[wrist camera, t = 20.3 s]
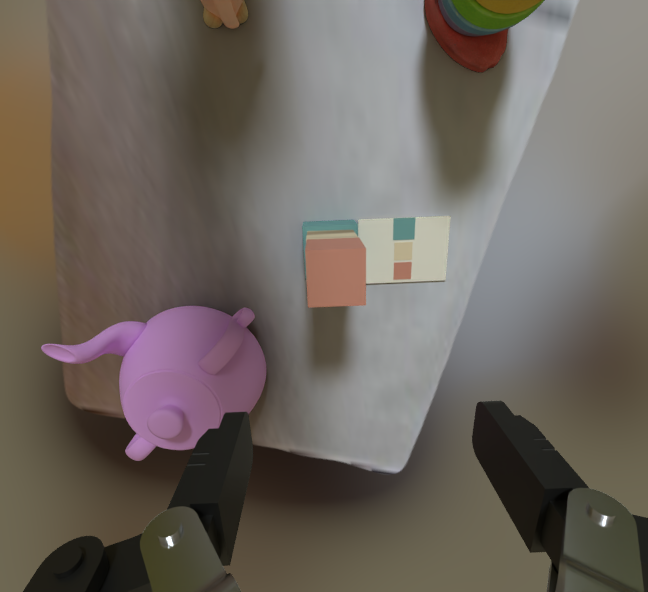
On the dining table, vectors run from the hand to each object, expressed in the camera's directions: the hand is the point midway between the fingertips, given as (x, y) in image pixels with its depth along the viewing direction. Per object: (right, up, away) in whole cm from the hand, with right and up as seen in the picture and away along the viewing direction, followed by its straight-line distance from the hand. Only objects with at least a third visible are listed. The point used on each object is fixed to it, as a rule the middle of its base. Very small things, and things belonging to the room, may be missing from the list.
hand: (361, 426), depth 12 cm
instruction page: (+8, +10, +31) cm, 33 cm away
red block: (0, +8, +22) cm, 23 cm away
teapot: (-19, -2, +35) cm, 40 cm away
